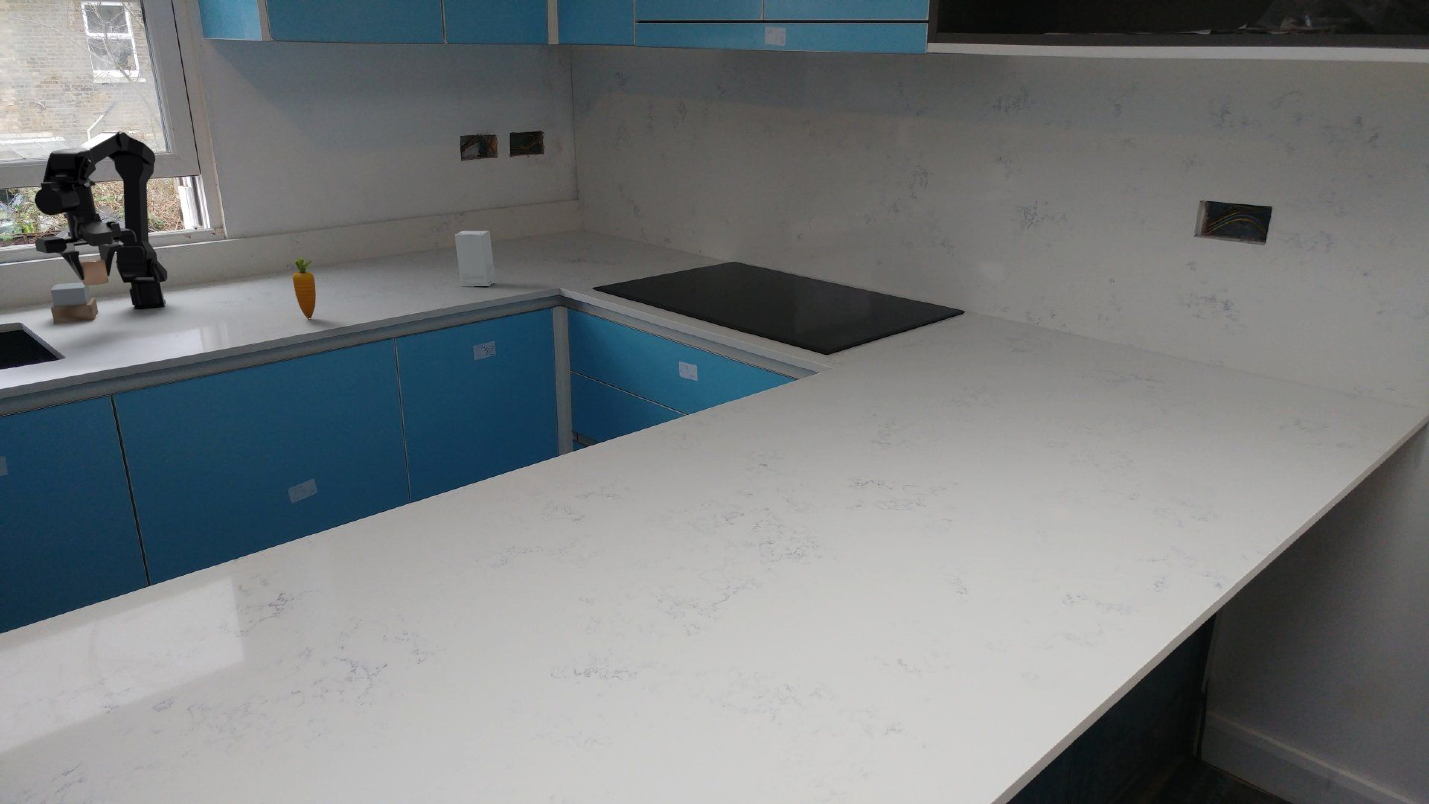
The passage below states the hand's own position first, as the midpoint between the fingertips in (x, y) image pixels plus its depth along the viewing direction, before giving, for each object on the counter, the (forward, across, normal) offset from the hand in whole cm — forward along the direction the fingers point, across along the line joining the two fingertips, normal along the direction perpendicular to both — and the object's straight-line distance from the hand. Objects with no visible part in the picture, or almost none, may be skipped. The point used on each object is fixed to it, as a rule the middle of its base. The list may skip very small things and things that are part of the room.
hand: (95, 278), depth 215 cm
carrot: (+12, +31, -32) cm, 46 cm away
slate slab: (+8, 0, +14) cm, 16 cm away
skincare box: (+11, +81, -36) cm, 89 cm away
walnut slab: (+12, 0, +14) cm, 18 cm away
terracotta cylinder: (+1, 0, 0) cm, 1 cm away
